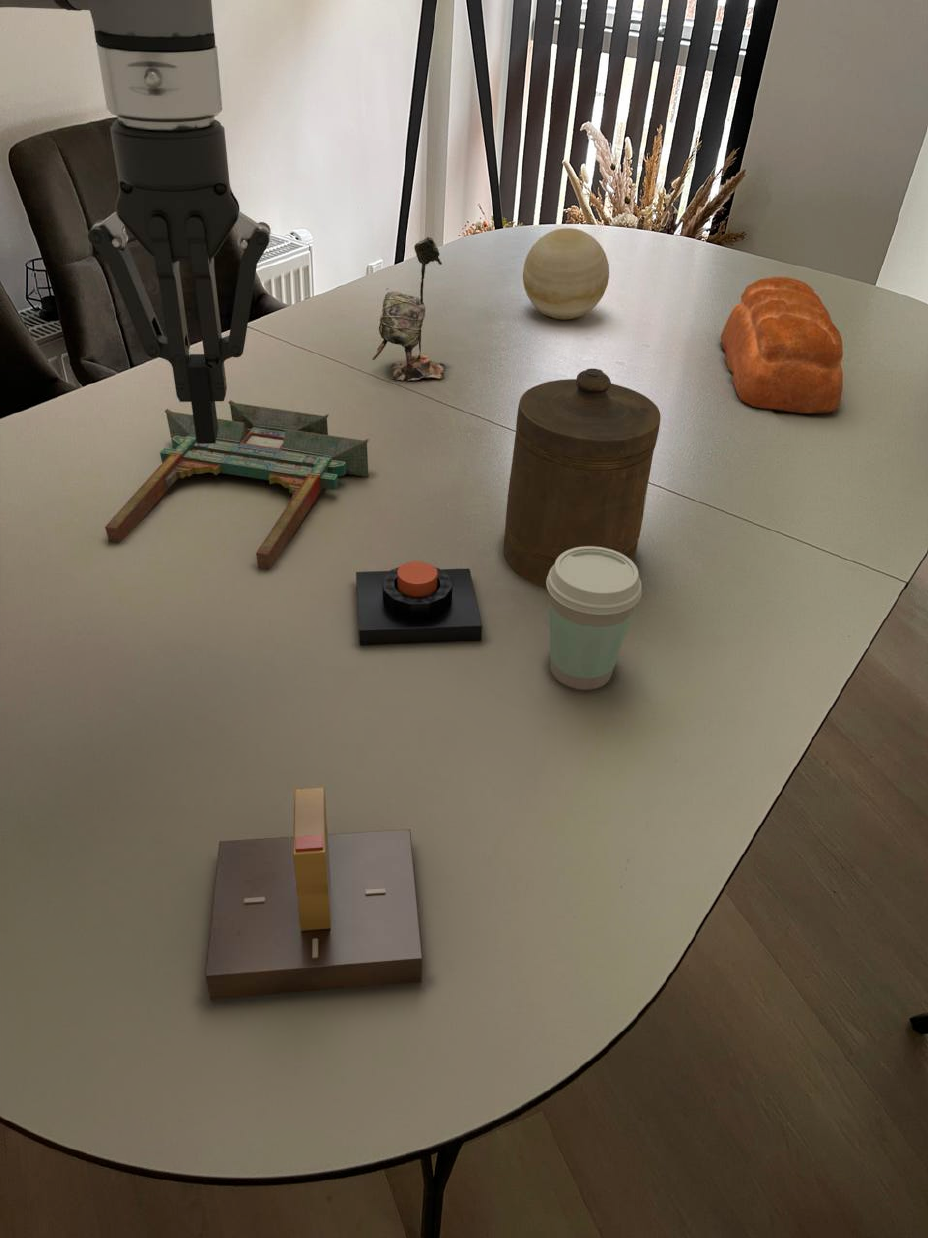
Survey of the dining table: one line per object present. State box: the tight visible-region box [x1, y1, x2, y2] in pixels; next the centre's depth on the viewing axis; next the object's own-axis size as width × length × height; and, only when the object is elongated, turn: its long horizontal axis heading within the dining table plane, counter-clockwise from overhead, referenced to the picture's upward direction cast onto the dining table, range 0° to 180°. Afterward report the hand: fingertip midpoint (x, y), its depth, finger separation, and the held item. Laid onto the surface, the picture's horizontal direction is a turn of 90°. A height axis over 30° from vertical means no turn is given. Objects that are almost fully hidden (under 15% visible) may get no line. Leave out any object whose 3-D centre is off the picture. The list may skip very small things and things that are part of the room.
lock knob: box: [293, 786, 331, 931], centre depth 63 cm, size 6×2×8 cm, turn 7°
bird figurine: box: [371, 236, 447, 381], centre depth 141 cm, size 8×11×20 cm
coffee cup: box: [546, 546, 643, 691], centre depth 88 cm, size 8×8×12 cm
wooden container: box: [502, 368, 661, 589], centre depth 101 cm, size 15×15×22 cm
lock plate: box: [204, 828, 424, 1000], centre depth 67 cm, size 14×11×3 cm
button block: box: [355, 566, 483, 647], centre depth 96 cm, size 12×10×4 cm
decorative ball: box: [522, 227, 610, 321], centre depth 165 cm, size 15×15×15 cm
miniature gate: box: [104, 399, 370, 570], centre depth 114 cm, size 27×6×30 cm
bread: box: [720, 276, 844, 414], centre depth 149 cm, size 16×31×13 cm, turn 174°
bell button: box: [397, 560, 438, 597], centre depth 95 cm, size 4×4×2 cm
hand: (207, 435), depth 78 cm, fingers closed
